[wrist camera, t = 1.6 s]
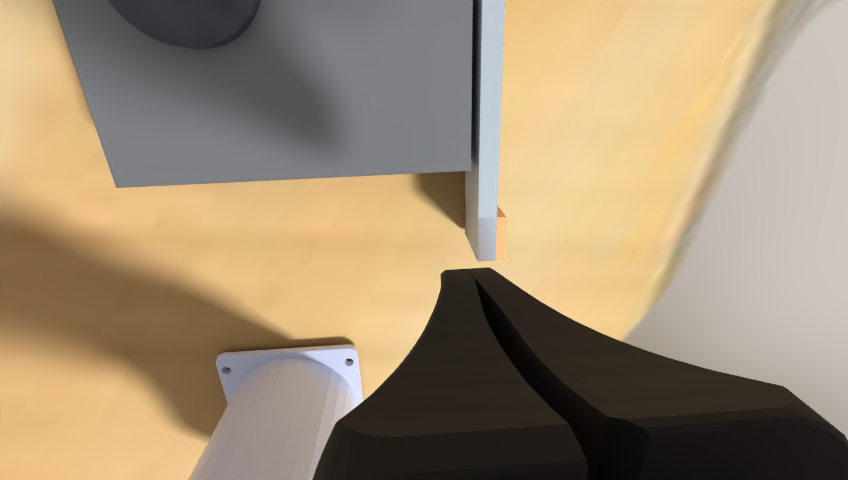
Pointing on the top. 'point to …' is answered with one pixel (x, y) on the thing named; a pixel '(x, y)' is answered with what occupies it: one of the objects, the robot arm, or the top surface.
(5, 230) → the top surface
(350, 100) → the grey flat block
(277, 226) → the top surface
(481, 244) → the side door
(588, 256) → the top surface
